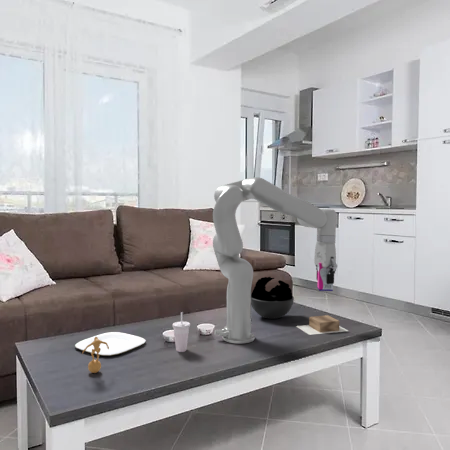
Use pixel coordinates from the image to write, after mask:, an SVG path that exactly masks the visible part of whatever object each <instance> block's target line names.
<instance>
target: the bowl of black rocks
mask: <svg viewBox="0 0 450 450" xmlns="http://www.w3.org/2000/svg"><path fill="white" fill-rule="evenodd" d="M274 279H275V277H271V276H264V277H261V278H258V279H257V281H256V282H255V286H254V287H253V289H252V291H251V308H252V309H253V310H254V311H255V313H257V315H259V316H260V317H262V318H264V319H268V320H277V319H280V318H282V317H284V316H286V315H287V313H289V312H290V310H291V309H292V307H293V305H294V301H295V298H294V296H293V292H292V289H291V287H290V284H289V283H287V282H284V281H283V280H278V281H277V282H278V283H279V285H278V284H276V285H275V286H274V287H272V288H271V289H270V290H269V291H268V290H266V285H267V284H268V283H269V282H271V281H272V280H274Z"/></svg>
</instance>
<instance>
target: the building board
mask: <svg viewBox="0 0 450 450" xmlns="http://www.w3.org/2000/svg"><path fill="white" fill-rule="evenodd" d="M295 328H298V329H300V330H301V331H303V333H305V334H307V335H309V336H310V335H311V336H312V335H321V334H331V333H333V334H334V333H342V332H349V330H348V329H346V328H344V327H342V326H341V325H339V331H330V332H318V331H317V330H315V329H313V328H311V327H310V326H309V324H306V325H304V324H303V325H297V326H295Z"/></svg>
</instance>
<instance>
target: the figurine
mask: <svg viewBox="0 0 450 450" xmlns="http://www.w3.org/2000/svg"><path fill="white" fill-rule="evenodd" d="M101 343H103V344H106V346H107V349H109V346H108V344H107V343H106V342H103V341H100V340H99V339H98V338H97V337H95V338H94V341H93V342H92V343H91V344H89V345H88V346H87V347H86V348H85V349H84V351H82V355H84V352H85V350H86V349H87V348H88V347H90V346H91V345H93V346H94V349H92V352H91V353H90V354H91V359H92V360H91V361H89V362H88V365H87V370H88V371H89V372H90V373H92V374H93V373H94V374H96V373H98V372H99V371H101V368H102V363H101V361H100V360H99V359H100V355H99V354H98V353H99V352H100V350H101V348H99V346H100V344H101ZM95 351H96V352H97V355H96V359H95V354H94V353H95Z"/></svg>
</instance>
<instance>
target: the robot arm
mask: <svg viewBox="0 0 450 450" xmlns="http://www.w3.org/2000/svg"><path fill="white" fill-rule="evenodd" d="M213 197H214V201H215V204H214V207H213V210H212V211H213V212H212V220H213V226H214V229H215V235H214V236H213V240H212V247H213V248H212V249H213V250H214V251H213V252H214V255H215V259H216V262H217V264H218V269H219V270H220V272H221V274H222V275H223V276H224V278H226V279H228V283H227V286H226V287H227V288H226V325H224V327H223V328H222V329H215V330H213V332H214V336H219V337H222V340H223V341H224V342H227V343H230V344H239V345H241V344H243V345H244V344H248V343H252V342H253V341H255V334H253V333H252V331H251V330H252V305H251V294H252V288H253V287H252V285H253V281H254V268H253V266H252V264H251V263H250V262H249V261H248V260H246V259H244V258H242V257H240V254H241V253H242V252H243V249H244V244H243V243H244V242H243V239H242V236H241V233H240V229H239V227H238V224H237V219H236V213H237V209H238V207H239V206H240V204H241V203H242V202H245V201H248V200H251V199H252V200H256V201H258V202H259V203H261V204H263V205H265V206H266V207H268V208H270V209H272V210H274V211H275V212H278V213H280V214H283V215H287V216H290V217H294V218H296V221H297V222H298V224H299V225H301V226H303V227H304V228H312V229H316V243H315V249H314V259H313V261H314V265H315V267H316V268H315V270H316V281H318V266H319V263H322V267H323V268H326V269H327V273H328V274H327V281H326V283H327V284H333V285H334V284H335V274H336V271H337V268H338V263H337V253H336V252H337V250H336V249H337V248H336V237H337V235H336V233H337V231H336V229H337V228H336V227H337V212H336V210H334V209H329V208H327V209H326V208H325V209H324V208H323V209H321V208H319V207H318V206H316V205H314V204H312V203H311V202H308V201H307V200H305V199H302V198H301V197H299V196H296V195H294V194H292V193H290V192H289V193H288V191H286V190H284V189H282V188H280V187H278V186H276V185H274V184H273V183H271V182H270V181H268V180H266V179H264V178H262V177H259V176H257V177H247V178H244V179H242V180H237V181H234V182H230V183H227V184H223V185H220V186H218V187H217V188H216V189H215V191H214V194H213ZM329 265H332V266H329ZM330 268H331V270H329V269H330Z"/></svg>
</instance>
